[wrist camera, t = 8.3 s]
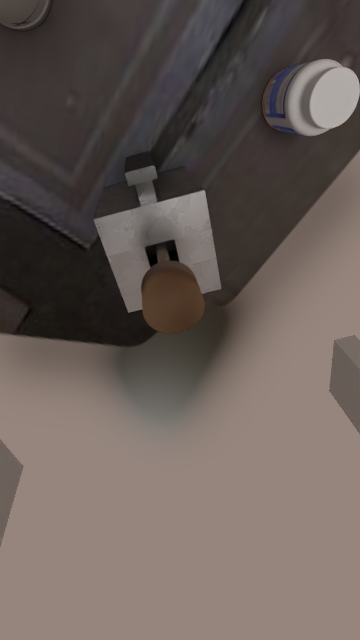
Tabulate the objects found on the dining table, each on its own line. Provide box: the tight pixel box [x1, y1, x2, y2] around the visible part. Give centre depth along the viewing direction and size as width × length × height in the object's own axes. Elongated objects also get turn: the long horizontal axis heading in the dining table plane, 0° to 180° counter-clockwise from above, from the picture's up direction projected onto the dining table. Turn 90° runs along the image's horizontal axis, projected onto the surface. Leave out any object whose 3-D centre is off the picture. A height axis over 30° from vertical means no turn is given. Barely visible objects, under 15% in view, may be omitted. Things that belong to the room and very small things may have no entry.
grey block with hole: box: [93, 152, 221, 313], centre depth 32 cm, size 9×11×12 cm
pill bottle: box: [262, 59, 360, 136], centre depth 29 cm, size 5×5×10 cm
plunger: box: [141, 239, 205, 334], centre depth 28 cm, size 7×7×18 cm
